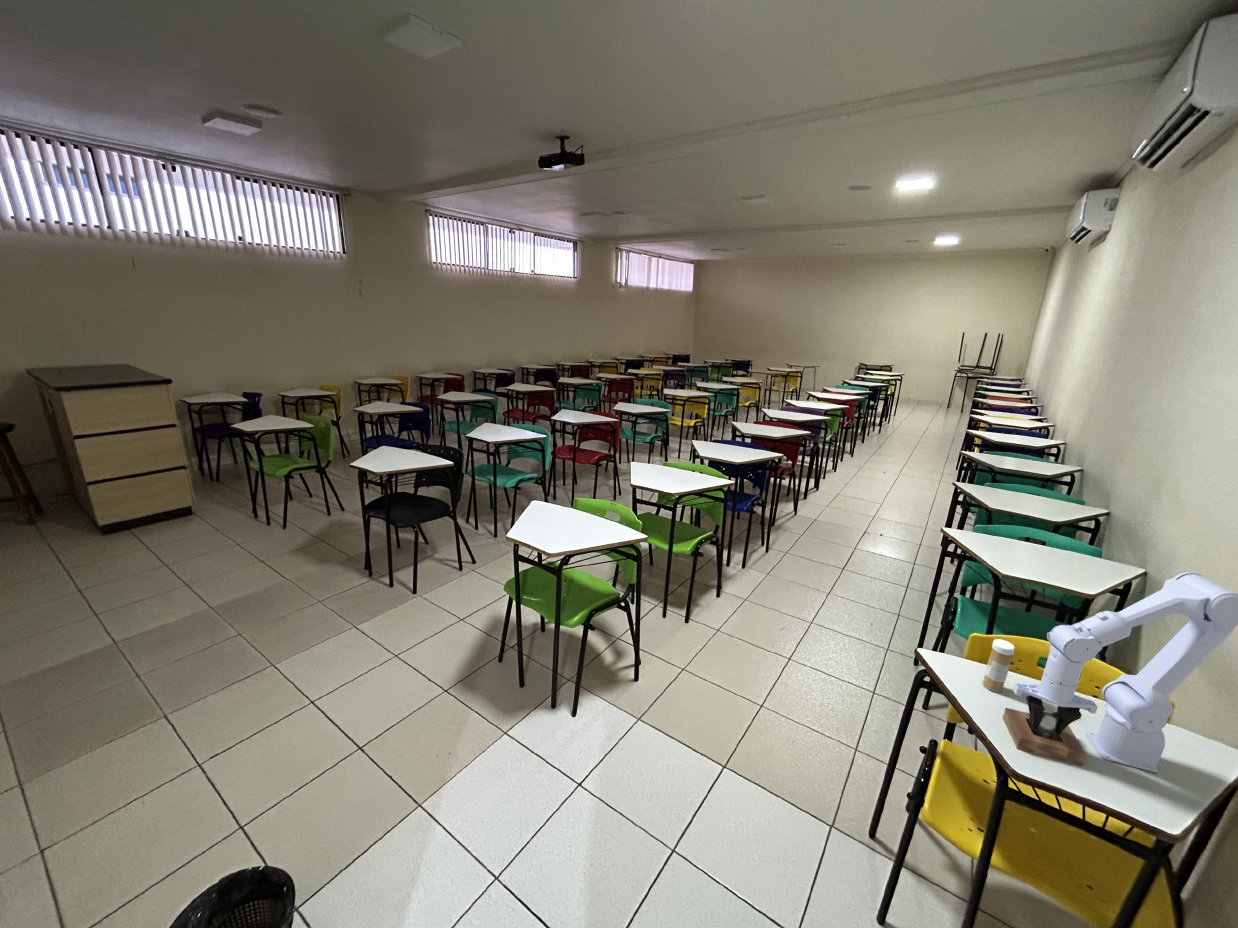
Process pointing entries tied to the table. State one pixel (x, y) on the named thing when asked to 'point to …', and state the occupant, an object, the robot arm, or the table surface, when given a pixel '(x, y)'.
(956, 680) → the table surface
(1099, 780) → the table surface
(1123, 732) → the robot arm
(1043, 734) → the peg
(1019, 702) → the table surface
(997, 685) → the sprinkles bottle
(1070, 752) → the socket block
